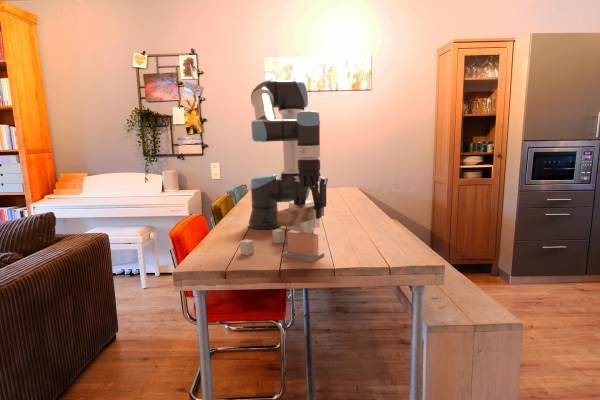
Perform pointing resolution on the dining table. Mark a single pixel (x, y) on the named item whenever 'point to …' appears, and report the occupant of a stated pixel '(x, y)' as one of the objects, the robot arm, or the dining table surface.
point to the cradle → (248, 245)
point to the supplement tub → (298, 227)
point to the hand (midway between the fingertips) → (310, 226)
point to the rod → (296, 215)
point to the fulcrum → (302, 246)
